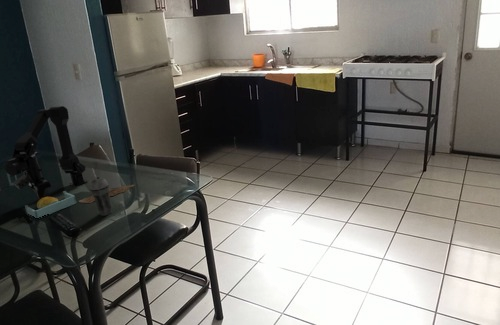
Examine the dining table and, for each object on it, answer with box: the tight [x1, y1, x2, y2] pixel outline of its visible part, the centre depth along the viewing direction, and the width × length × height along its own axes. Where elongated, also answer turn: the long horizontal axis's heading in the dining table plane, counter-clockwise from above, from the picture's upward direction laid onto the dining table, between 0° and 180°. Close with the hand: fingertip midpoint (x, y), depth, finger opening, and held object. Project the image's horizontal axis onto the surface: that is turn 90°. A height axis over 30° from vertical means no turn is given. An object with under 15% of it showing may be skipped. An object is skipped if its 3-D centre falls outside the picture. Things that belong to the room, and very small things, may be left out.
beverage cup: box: [89, 167, 112, 217], centre depth 164 cm, size 7×7×20 cm
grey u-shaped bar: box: [24, 190, 78, 219], centre depth 178 cm, size 10×18×4 cm, turn 138°
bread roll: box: [36, 196, 59, 210], centre depth 182 cm, size 8×9×4 cm
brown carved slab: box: [77, 184, 135, 204], centre depth 188 cm, size 26×11×1 cm, turn 121°
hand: (41, 199), depth 185 cm, fingers closed
